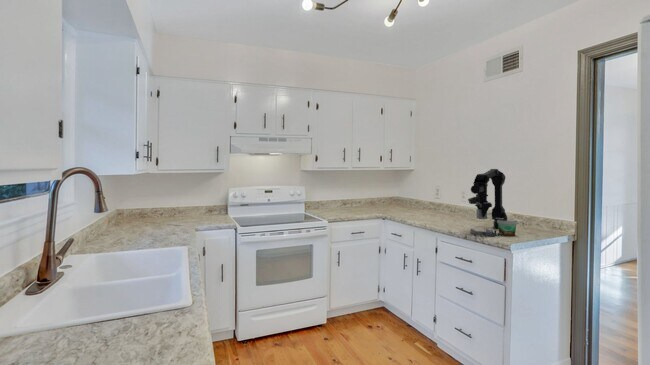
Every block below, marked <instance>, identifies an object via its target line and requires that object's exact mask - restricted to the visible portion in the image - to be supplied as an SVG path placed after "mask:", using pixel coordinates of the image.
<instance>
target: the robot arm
mask: <svg viewBox="0 0 650 365" xmlns="http://www.w3.org/2000/svg"><path fill="white" fill-rule="evenodd" d="M490 180H491V183H492V185H493V186H494V206H493V203H492V202H489V201H488V197H489V194H488V186H489V184H488V183H489V181H490ZM505 182H506V175H505V174H504V172H502V171H501V170H499V169H497V168H491V169H489V170H488V171H485V172H484V173H478V174H476V176H475V178H474V180H473V185H472V186H471V188H470V191H471V193H472V194H474V195H475V196H473V197H470V198H468V199H467V200H468V203H469V204H470V205H474V206H475V207H476V208H477V209H481V212H482V217H484V216H485V214H486V212H487V213H488V211H489V209H490V208H492V209H491V219H492V220H493V226H492V228H494V229H497V230H498V223H497V221H498V220H502V221H508V216H507V213H506V209H505V208H504V206H503V185H504V184H505Z"/></svg>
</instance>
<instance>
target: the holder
mask: <svg viewBox="0 0 650 365" xmlns="http://www.w3.org/2000/svg"><path fill="white" fill-rule="evenodd" d="M491 230H492V229H489V228H486V229H485V231H483V230H482V231H479V230H478V231H477V230H475V229H473V228H470V233H471V234H472V235H474V236H482V235H483V232H485V233H486V235H493V233H494V230H493V231H491Z"/></svg>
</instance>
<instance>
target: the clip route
mask: <svg viewBox="0 0 650 365" xmlns="http://www.w3.org/2000/svg"><path fill="white" fill-rule="evenodd" d="M490 230H491V231H493V235H486V233H485V232H483V235H481V236H482V237H484V238H485V237H486V238H487V237H491V238H500V237H501V235H500V233H499V232H497V230H493V229H490Z"/></svg>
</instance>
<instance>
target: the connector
mask: <svg viewBox="0 0 650 365" xmlns="http://www.w3.org/2000/svg"><path fill="white" fill-rule="evenodd" d="M476 219H478V220H488V211H487V212H486V214H485V216H484V217H482V212H481V209H478V208H477V209H476Z"/></svg>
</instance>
